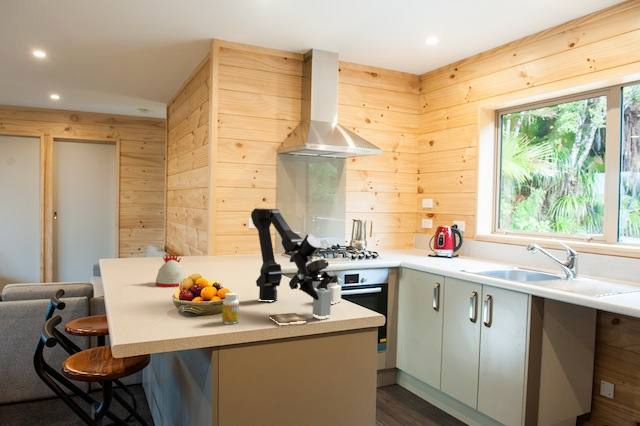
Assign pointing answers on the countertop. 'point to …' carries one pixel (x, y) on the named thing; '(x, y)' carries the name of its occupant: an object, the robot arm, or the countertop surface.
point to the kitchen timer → (170, 273)
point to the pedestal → (287, 318)
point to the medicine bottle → (334, 289)
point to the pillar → (322, 302)
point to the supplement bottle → (230, 308)
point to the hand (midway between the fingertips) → (322, 298)
